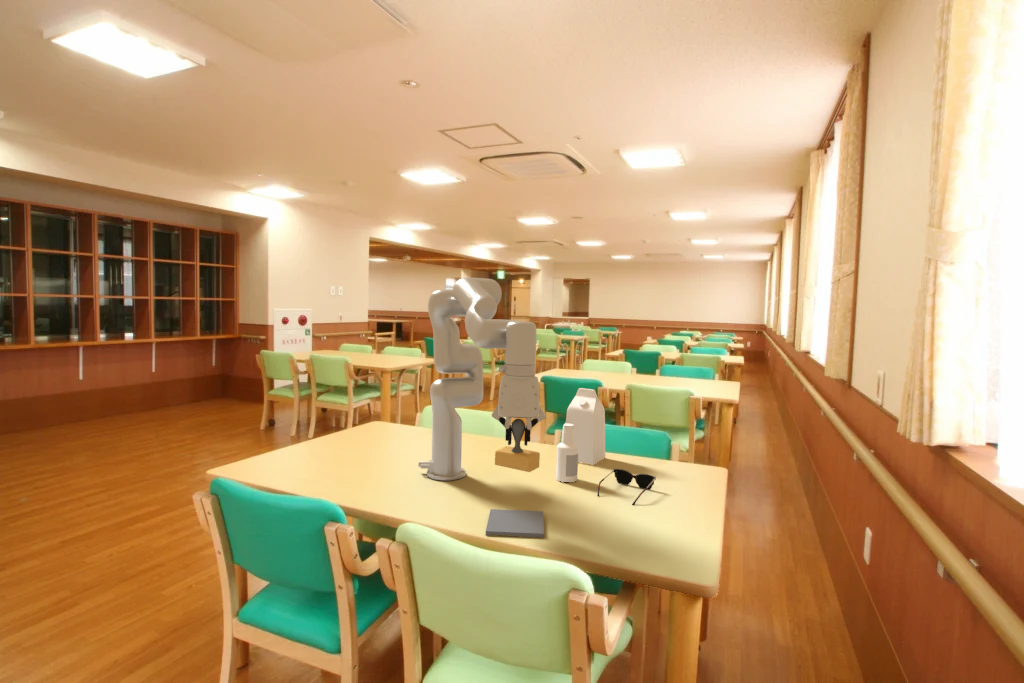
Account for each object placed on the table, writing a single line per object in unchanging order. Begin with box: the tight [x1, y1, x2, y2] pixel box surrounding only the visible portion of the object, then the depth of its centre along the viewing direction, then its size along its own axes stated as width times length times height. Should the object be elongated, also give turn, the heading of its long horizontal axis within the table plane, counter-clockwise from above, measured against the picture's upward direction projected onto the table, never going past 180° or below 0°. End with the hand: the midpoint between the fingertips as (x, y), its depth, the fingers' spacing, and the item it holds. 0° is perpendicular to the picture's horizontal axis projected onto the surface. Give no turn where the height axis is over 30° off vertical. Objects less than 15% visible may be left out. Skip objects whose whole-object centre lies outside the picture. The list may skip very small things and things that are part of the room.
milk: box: [565, 387, 606, 466], centre depth 192 cm, size 12×12×26 cm
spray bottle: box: [555, 423, 579, 483], centre depth 168 cm, size 7×7×18 cm
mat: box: [485, 508, 545, 539], centre depth 132 cm, size 14×14×1 cm
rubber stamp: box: [494, 418, 541, 473], centre depth 131 cm, size 10×6×12 cm, turn 60°
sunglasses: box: [597, 468, 657, 506], centre depth 157 cm, size 14×16×5 cm
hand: (517, 443), depth 131 cm, fingers closed on rubber stamp, 3 cm apart
